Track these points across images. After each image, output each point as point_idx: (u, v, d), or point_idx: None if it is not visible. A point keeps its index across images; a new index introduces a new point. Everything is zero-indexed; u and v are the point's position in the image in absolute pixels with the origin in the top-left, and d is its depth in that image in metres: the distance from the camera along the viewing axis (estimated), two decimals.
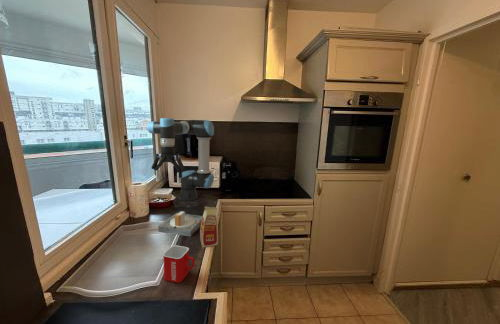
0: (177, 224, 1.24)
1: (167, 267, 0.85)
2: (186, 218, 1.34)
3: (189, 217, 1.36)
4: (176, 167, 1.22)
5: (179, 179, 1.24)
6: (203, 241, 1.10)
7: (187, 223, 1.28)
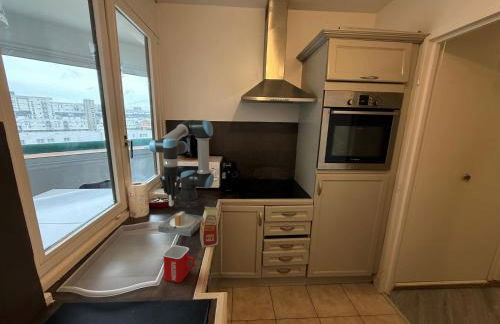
0: (177, 224, 1.24)
1: (167, 267, 0.85)
2: (186, 218, 1.34)
3: (189, 217, 1.36)
4: (172, 189, 1.24)
5: (172, 201, 1.26)
6: (203, 241, 1.10)
7: (187, 223, 1.28)
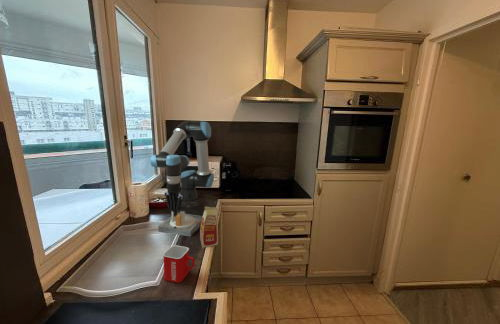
0: (178, 224, 1.24)
1: (167, 267, 0.85)
2: (186, 218, 1.34)
3: (188, 217, 1.36)
4: (174, 206, 1.23)
5: (174, 217, 1.26)
6: (203, 241, 1.10)
7: (187, 222, 1.28)
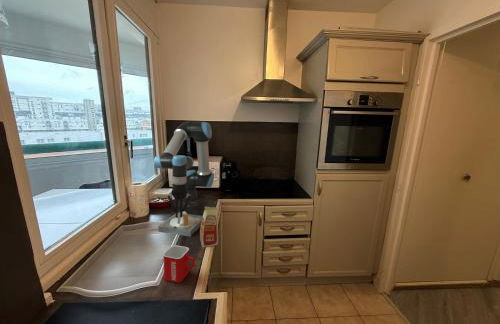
0: (186, 223, 1.25)
1: (167, 267, 0.85)
2: None
3: None
4: (181, 207, 1.22)
5: None
6: (203, 241, 1.10)
7: (190, 220, 1.31)
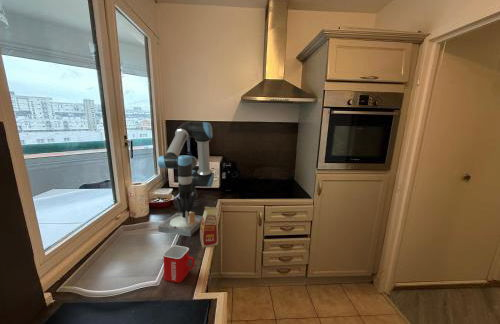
0: (193, 220, 1.30)
1: (167, 267, 0.85)
2: (178, 219, 1.32)
3: (176, 218, 1.33)
4: (188, 205, 1.25)
5: None
6: (203, 241, 1.10)
7: None
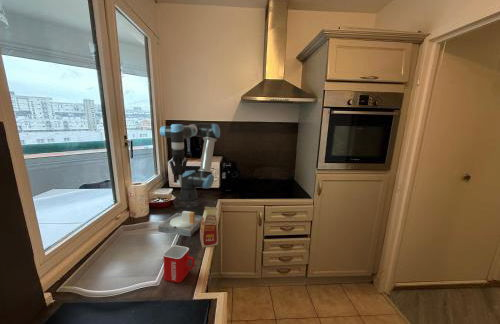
0: (193, 220, 1.30)
1: (167, 267, 0.85)
2: (177, 219, 1.32)
3: (176, 218, 1.33)
4: (181, 169, 1.40)
5: None
6: (203, 241, 1.10)
7: None
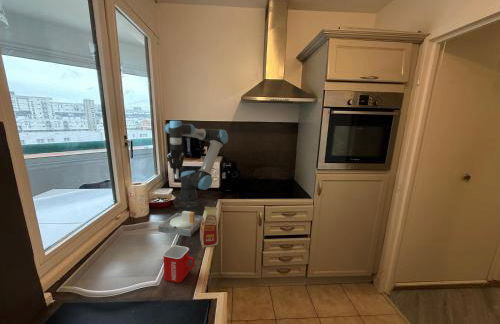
0: (193, 220, 1.30)
1: (167, 267, 0.85)
2: (177, 219, 1.32)
3: (176, 218, 1.33)
4: (179, 164, 1.47)
5: None
6: (203, 241, 1.10)
7: None
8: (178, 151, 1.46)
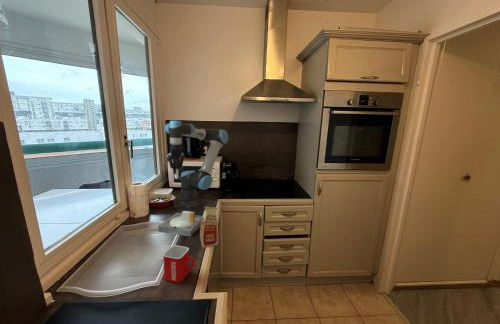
0: (193, 220, 1.30)
1: (167, 267, 0.85)
2: (177, 219, 1.32)
3: (176, 218, 1.33)
4: (179, 164, 1.47)
5: None
6: (203, 241, 1.10)
7: None
8: (178, 151, 1.46)
